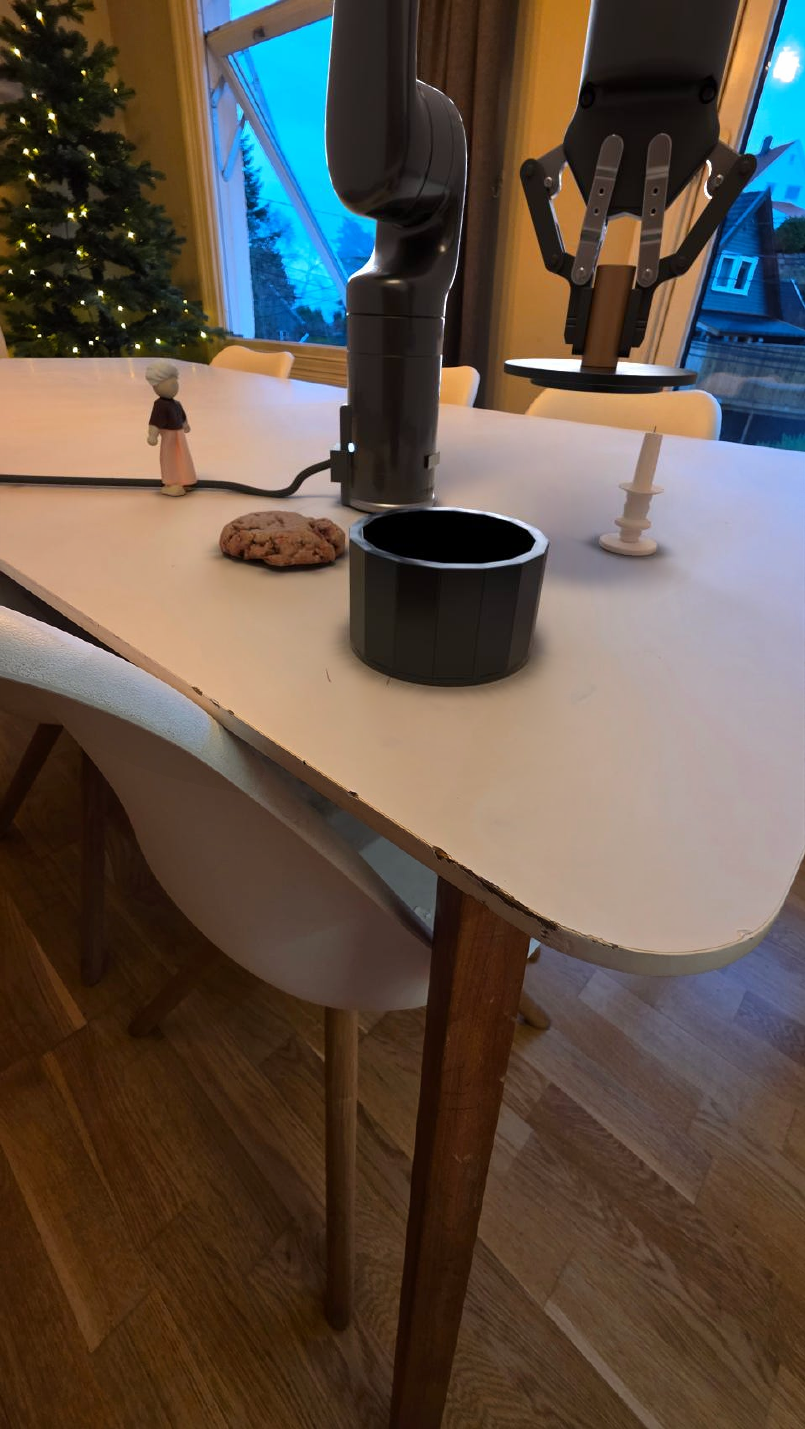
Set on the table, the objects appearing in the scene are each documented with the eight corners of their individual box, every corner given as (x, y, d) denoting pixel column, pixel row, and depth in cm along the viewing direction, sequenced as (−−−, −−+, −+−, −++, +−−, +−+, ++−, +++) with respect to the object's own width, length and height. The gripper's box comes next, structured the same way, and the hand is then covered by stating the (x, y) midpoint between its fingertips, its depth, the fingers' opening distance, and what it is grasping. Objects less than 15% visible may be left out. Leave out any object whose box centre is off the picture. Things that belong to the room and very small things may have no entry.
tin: (320, 664, 37) (315, 549, 33) (385, 595, 47) (388, 498, 43) (512, 702, 34) (531, 582, 31) (541, 621, 44) (559, 520, 40)
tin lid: (485, 388, 39) (497, 255, 35) (518, 373, 49) (531, 269, 46) (699, 403, 36) (737, 260, 32) (688, 385, 46) (716, 274, 42)
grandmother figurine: (187, 499, 66) (168, 363, 59) (151, 497, 66) (127, 361, 59) (207, 482, 73) (192, 357, 66) (174, 480, 73) (155, 355, 66)
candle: (606, 534, 62) (632, 419, 56) (661, 545, 59) (693, 426, 54) (591, 548, 58) (617, 426, 52) (649, 560, 56) (682, 433, 50)
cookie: (227, 534, 57) (224, 500, 55) (344, 535, 58) (343, 502, 57) (211, 573, 49) (206, 535, 47) (347, 573, 50) (346, 536, 48)
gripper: (805, -12, 33) (707, 359, 43) (544, 9, 37) (507, 348, 46) (839, -84, 27) (716, 366, 37) (523, -51, 31) (485, 352, 40)
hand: (600, 354), depth 42 cm, fingers closed on tin lid, 2 cm apart
